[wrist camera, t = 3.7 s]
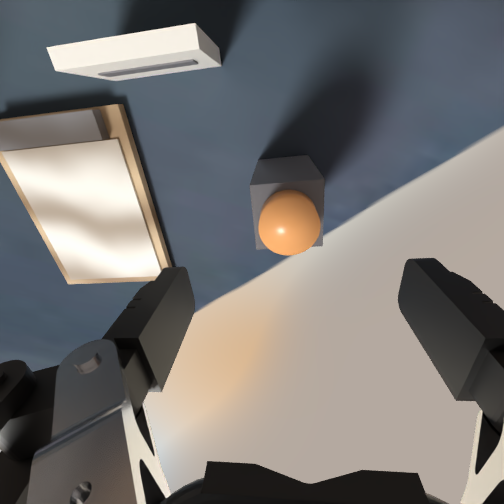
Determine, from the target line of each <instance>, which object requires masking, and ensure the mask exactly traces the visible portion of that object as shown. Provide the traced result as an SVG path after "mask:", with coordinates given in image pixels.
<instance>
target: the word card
mask: <svg viewBox="0 0 504 504" xmlns="http://www.w3.org/2000/svg"><path fill="white" fill-rule="evenodd" d="M46 48H47V50H48V53H49V55H50V58H51V60H52V63H53V65H54V68H55V71H60V72H65V73H71V74H77V75H83V76H89V77H95V78H101V79H107V80H113V81H119V80H127V79H134V78H141V77H148V76H155V75H162V74H169V73H176V72H183V71H190V70H197V69H204V68H211V67H218V66H221V58H220V51H219V47H218V46H217V45H216V44H215V43H214V42H213V41H212V40H211V39H210V38H209V37H208V36H207V35H206V34H205V33H204V32H203V31H202V30H201V29H200V28H199V26H198V25H197V24H196V23H192V24H186V25H180V26H174V27H168V28H162V29H156V30H150V31H143V32H137V33H131V34H125V35H119V36H113V37H107V38H101V39H95V40H89V41H83V42H77V43H71V44H65V45H59V46H53V47H46Z"/></svg>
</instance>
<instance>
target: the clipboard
mask: <svg viewBox="0 0 504 504" xmlns="http://www.w3.org/2000/svg"><path fill="white" fill-rule="evenodd" d="M0 162H1V164H2V166H3V167H4V169H5V171H6V173H7V175H8V176H9V178H10V180H11V182H12V184H13V185H14V187H15V189H16V191H17V193H18V194H19V196H20V198H21V200H22V202H23V203H24V205H25V207H26V209H27V211H28V212H29V214H30V216H31V218H32V220H33V221H34V223H35V225H36V227H37V229H38V230H39V232H40V234H41V236H42V238H43V239H44V241H45V243H46V245H47V247H48V248H49V250H50V252H51V254H52V256H53V257H54V259H55V261H56V263H57V265H58V266H59V268H60V270H61V272H62V274H63V275H64V277H65V279H66V281H67V283H68V284H85V283H111V282H136V281H154V280H155V279H156V278H157V277H158V275H159V274H160V272H161V271H162V270H163V268H165V267H172V265H171V261H170V258H169V255H168V251H167V248H166V245H165V241H164V238H163V235H162V231H161V228H160V225H159V221H158V218H157V215H156V212H155V208H154V205H153V202H152V198H151V195H150V192H149V188H148V185H147V182H146V178H145V175H144V172H143V168H142V165H141V162H140V158H139V155H138V152H137V149H136V145H135V142H134V139H133V135H132V132H131V129H130V125H129V122H128V119H127V115H126V112H125V109H124V105H123V104H114V105H107V106H99V107H91V108H84V109H76V110H68V111H61V112H53V113H45V114H38V115H30V116H22V117H14V118H7V119H0Z"/></svg>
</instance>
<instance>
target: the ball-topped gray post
mask: <svg viewBox="0 0 504 504" xmlns="http://www.w3.org/2000/svg"><path fill="white" fill-rule="evenodd" d="M324 187H325V179H324V177H323V176H322V174H321V173H320V172H319V170H318V169H317V167H316V166H315V164H314V163H313V161H312V160H311V159H310V157H309V156H308V155H302V156H292V157H281V158H271V159H260V160H258V162H257V165H256V168H255V171H254V174H253V177H252V180H251V183H250V193H251V203H252V212H253V221H254V230H255V240H256V249H270V250H271V251H273V252H275V253H278V254H282V255H295V254H299V253H302V252H304V251H306V250H307V249H309V248H310V247H313V246H322V245H323V216H324Z"/></svg>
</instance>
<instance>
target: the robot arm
mask: <svg viewBox="0 0 504 504" xmlns="http://www.w3.org/2000/svg"><path fill="white" fill-rule="evenodd" d="M398 303H399V308H400V310H401V312H402V314H403V315H404V317H405V319H406V321H407V322H408V324H409V325H410V327H411V329H412V330H413V332H414V333H415V335H416V337H417V338H418V340H419V342H420V343H421V345H422V346H423V348H424V350H425V351H426V353H427V354H428V356H429V357H430V359H431V361H432V363H433V364H434V366H435V367H436V369H437V370H438V372H439V374H440V375H441V377H442V378H443V380H444V382H445V384H446V385H447V387H448V388H449V390H450V392H451V393H452V395H453V396H454V398H455V399H456V401H476V402H477V404H478V405H479V407H480V408H481V410H480V411H479V413H478V416H477V421H476V428H475V435H474V441H473V448H472V455H471V462H470V468H469V475H468V481H467V485H466V488H465V491H464V494H463V496H462V499H461V502H460V504H504V310H503V309H502V308H500V307H499V306H498V305H497V304H495V303H493V301H492V300H491V299H490V298H489V297H488V296H487V295H485V294H482V291H481V290H480V289H479V288H478V287H476V286H475V285H474V284H473V283H472V282H471V281H469V280H468V279H466V278H463V277H462V276H460V275H458V274H456V273H454V272H450V271H448V270H447V269H446V268H445V267H444V266H443V265H442V264H441V263H440V262H439V261H438V260H436V259H435V258H422V259H421V258H420V259H408V260H407V262H406V263H405V267H404V271H403V276H402V280H401V285H400V290H399V295H398ZM194 310H195V300H194V295H193V291H192V287H191V284H190V280H189V276H188V272H187V269H186V268H185V267H165V268H163V270H162V271H161V272H160V274H159V275H158V277H157V278H156V279H155V280H154V281H150V282H149V283H147V284H146V285H145V286H143V287H142V288H141V289H140V290H139V291H138V292H137V294H136V295H135V296H134V297H133V300H132V301H130V303H129V304H128V305H127V307H126V309H124V310H123V312H122V313H121V314H120V316H119V317H118V318H117V320H116V321H115V322H114V323H113V325H112V326H111V327H110V329H109V330H108V331H107V333H106V334H105V335H104V336H103V338H102V339H100V340H95V341H91V342H88V343H86V344H84V345H82V346H80V347H78V348H77V349H75V350H74V351H72V352H71V353H70V354H69V355H68V356H67V357H66V358H65V359H64V360H63V361H62V362H61V364H60V365H57V366H54V367H50V368H46V369H42V370H38V371H34V372H32V371H31V370H30V368H29V367H28V366H27V365H26V363H25V362H23V361H21V360H11V361H7V362H4V363H1V364H0V449H1V450H2V451H1V452H0V504H448V503H446V502H444V501H442V500H440V499H438V498H436V497H434V496H432V495H430V494H427V493H425V491H424V488H423V486H422V483H421V480H420V478H419V475H418V473H406V472H388V471H387V472H386V471H370V470H360V471H357V472H353V473H350V474H346V475H343V476H339V477H336V478H332V479H328V480H325V481H321V482H318V483H313V484H307V483H303V482H301V481H298V480H295V479H293V478H290V477H288V476H285V475H283V474H280V473H277V472H275V471H272V470H270V469H267V468H264V467H262V466H260V465H256V464H248V463H230V462H212V461H207V466H206V471H205V476H204V478H202V479H198V480H196V481H194V482H192V483H189V484H187V485H185V486H183V487H182V488H180V489H179V490H177V491H175V492H174V493H172V494H171V493H170V489H169V486H168V483H167V480H166V478H165V476H164V473H163V470H162V467H161V465H160V461H159V457H158V454H157V449H156V446H155V442H154V438H153V434H152V430H151V426H150V422H149V419H148V415H147V411H146V407H145V404H144V402H143V401H144V399H145V397H146V395H147V393H148V392H162V390H163V387H164V385H165V382H166V380H167V377H168V375H169V373H170V370H171V368H172V365H173V363H174V361H175V358H176V356H177V353H178V351H179V348H180V346H181V343H182V341H183V339H184V336H185V334H186V331H187V329H188V326H189V324H190V322H191V319H192V317H193V314H194Z"/></svg>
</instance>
